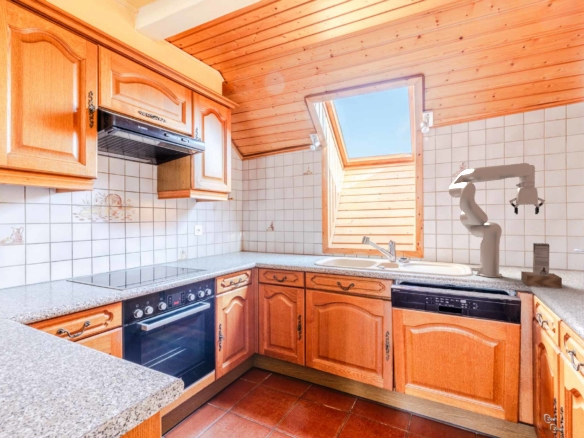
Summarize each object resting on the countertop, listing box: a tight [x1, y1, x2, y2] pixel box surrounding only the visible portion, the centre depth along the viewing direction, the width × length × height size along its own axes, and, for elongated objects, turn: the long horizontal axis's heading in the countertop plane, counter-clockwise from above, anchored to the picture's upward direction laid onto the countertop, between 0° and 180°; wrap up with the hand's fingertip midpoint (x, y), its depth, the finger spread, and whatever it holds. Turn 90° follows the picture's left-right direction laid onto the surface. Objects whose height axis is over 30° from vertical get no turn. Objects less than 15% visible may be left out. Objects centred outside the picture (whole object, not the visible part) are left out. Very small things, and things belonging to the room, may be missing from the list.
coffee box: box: [532, 242, 550, 277], centre depth 160 cm, size 9×6×16 cm
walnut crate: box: [520, 270, 563, 289], centre depth 160 cm, size 14×13×5 cm
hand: (526, 214), depth 185 cm, fingers open, 9 cm apart
